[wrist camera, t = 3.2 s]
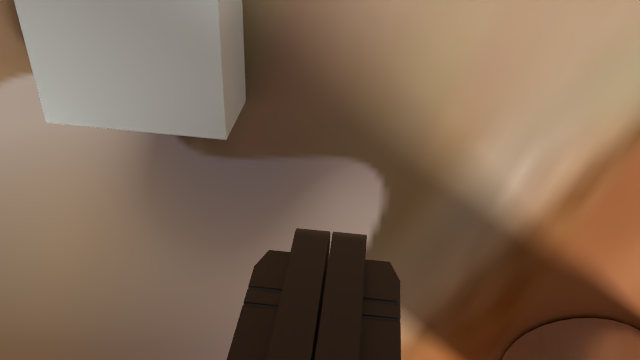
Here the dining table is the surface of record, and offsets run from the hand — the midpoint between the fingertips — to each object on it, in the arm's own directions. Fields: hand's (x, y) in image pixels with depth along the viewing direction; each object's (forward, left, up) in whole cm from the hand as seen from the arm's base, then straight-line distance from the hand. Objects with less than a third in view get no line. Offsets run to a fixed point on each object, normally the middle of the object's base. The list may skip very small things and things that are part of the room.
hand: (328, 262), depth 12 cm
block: (+9, 0, -15) cm, 18 cm away
